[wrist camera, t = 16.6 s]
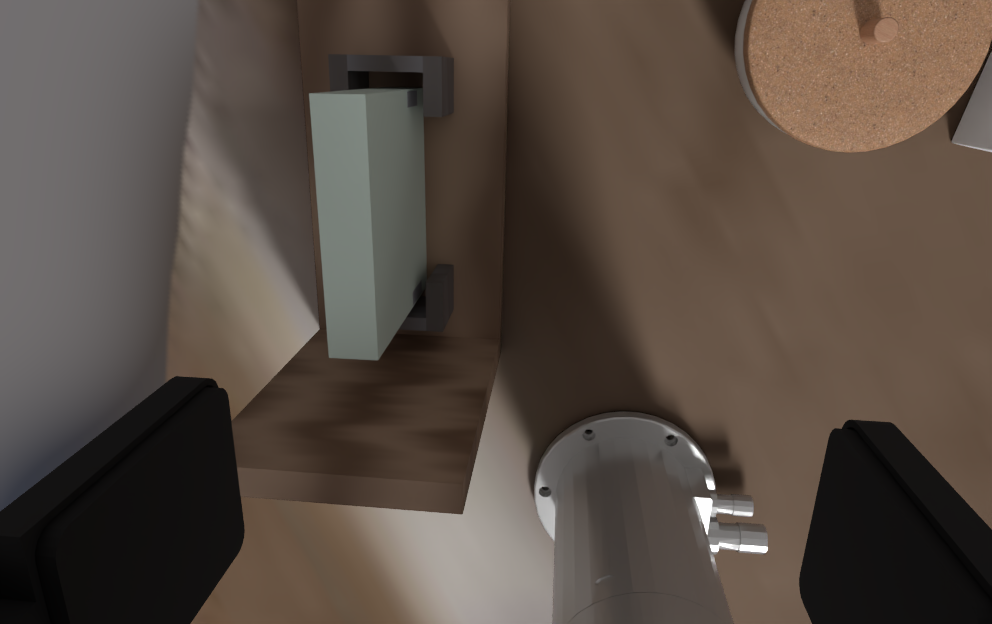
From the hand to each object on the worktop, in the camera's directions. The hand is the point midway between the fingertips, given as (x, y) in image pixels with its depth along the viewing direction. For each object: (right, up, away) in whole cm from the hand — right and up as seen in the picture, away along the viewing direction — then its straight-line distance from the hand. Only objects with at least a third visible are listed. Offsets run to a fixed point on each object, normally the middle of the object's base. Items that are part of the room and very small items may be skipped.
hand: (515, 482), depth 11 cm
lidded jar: (+17, +18, +28) cm, 37 cm away
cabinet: (-6, +11, +32) cm, 35 cm away
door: (-6, +10, +31) cm, 33 cm away
